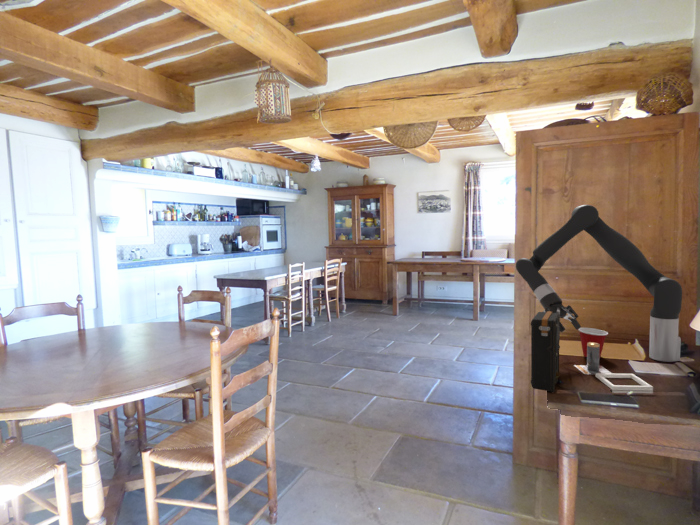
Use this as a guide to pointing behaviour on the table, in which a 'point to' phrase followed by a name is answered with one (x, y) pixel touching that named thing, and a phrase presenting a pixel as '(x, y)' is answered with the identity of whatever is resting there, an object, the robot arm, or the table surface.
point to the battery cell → (593, 356)
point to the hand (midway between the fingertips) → (571, 329)
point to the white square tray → (624, 387)
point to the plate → (584, 370)
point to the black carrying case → (545, 350)
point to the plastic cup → (592, 338)
